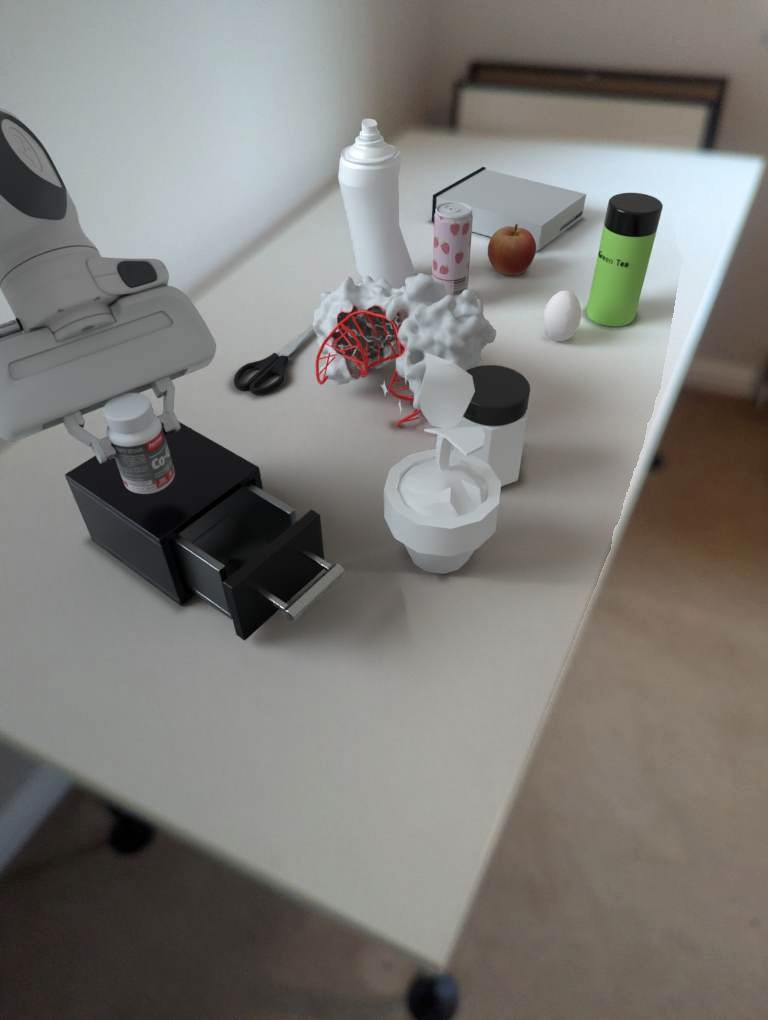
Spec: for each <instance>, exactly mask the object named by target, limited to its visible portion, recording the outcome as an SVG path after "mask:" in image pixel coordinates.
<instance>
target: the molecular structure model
mask: <svg viewBox="0 0 768 1020" xmlns="http://www.w3.org/2000/svg"><path fill="white" fill-rule="evenodd" d="M405 285H406V286H403V287H401V288H400V289H396V288H393V287H391V286H390V284H389V283H388V282H387V281H386V280H385V279H380V280H378V281H377V282H374V281H373V279H372V278H371V277H370V276H365V277H364V278H363V281H362V280H361V281H360V282H359V283H358V284H357V285H356V284H355V282H354V279H353V278H352V277H350V276H347V277H345V278H344V279H343V281H342V282H341V283H340V284H339V287H338V288H336V289H334V290H332V291H325V290H323V291H322V292H321V293H320V305H319V307H316V308H315V310H314V312H313V316H312V317H313V322H312V325H313V329H314V331H313V332H314V333H315V334H316V337H317V340H316V344H317V347H318V349H319V350H318V352H317V354H316V358H315V378H316V381H317V383H318V384H319V385H324V384H325V383H326V382H327V381H328V380H332V381H333V382H334V383H335V385H337V386H342V385H344V384H348V383H349V382H350V381H355V380H360V378H366V377H367V376H368V371H369V370H370V369H371V368H373V369H381V368H383V367H385V366H387V365H388V364H389V360H391V361H392V362H393V363H395V369H394V373H393V376H392V378H391V381H390V382H389V385H388V388H387V391H388V392H387V393H388V394H391V395H392V396H393V398H397V399H398V400H400V401H408V402H412V407H413V408H414V409H415V410H414V411H413V412H412V413H411V414H409V415H407V416H405V417H403V418H401V419H400V420H398V421H396V423H395V426H396V427H398V426H400V425H401V424H403V423H407V422H410V421H414V420H419V419H421V417H420V416H417V415H419V414H420V413H422V411H421V407H420V404H419V400H418V396H419V392H420V389H421V385H422V382H423V378H424V374H425V371H426V353H429V354H431V355H434V356H437V357H439V358H442V359H445V360H447V361H450V362H453V363H455V364H456V365H457V366H459V367H460V368H462V369H463V370H465V371H466V370H468V369H471V368H473V367H477V366H483V360H482V351H483V350H484V348H485V347H486V346H487V345H488V344H492V343H494V342H495V339H496V336H497V330H496V329H495V328H494V326H493V325H492V324H491V323H490V321H489V320H488V319H486V318H485V315H484V305H483V304H484V303H483V301H482V300H481V299H479V298H477V296H476V294H475V293H474V292H473V291H472V290H470V289H468V290H467V289H466V290H464V291H463V292H462V294H459V295H458V296H457V295H455V296H452V295H447V293H446V291H445V285H444V284H443V283H442V282H438V281H435V280H433V278H432V275H430V274H426V273H424V272H420V273H418V274H416V276H413V277H408V278H406V280H405ZM405 348H406V360H407V366H408V370H409V373H410V374H409V373H408V375H407V379H406V381H407V382H408V384H409V386H408V387H402V388H394V389H393V385H394V383H397V382H401V381H405V373H404V368H403V364H402V362H401V360H402V361H403V360H404V357H405ZM322 354H323V355H324V356H322ZM321 356H322V357H321ZM323 359H325V363H324V365H322V366H319V365H320V360H323ZM320 375H322V380H321V378H320ZM397 376H399V377H401V378H399V379H398V378H397ZM405 390H410V391H411V392H412V393H413V395H406V394H405V395H404V394H397V393H395V392H396V391H405ZM416 416H417V417H416Z"/></svg>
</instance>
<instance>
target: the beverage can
mask: <svg viewBox="0 0 768 1020" xmlns="http://www.w3.org/2000/svg"><path fill="white" fill-rule="evenodd" d="M435 211H436V212H435V214H434V222H433V238H432V239H433V241H432V262H431V263H432V265H431V277H432V278H433V280H435V281H438V282H442V283H443V284H444V285H445V291H446V293H447V295H452V296H455V295H457V296H458V295H459V294H462V292H463V291H464V290H466V289H467V290H469V277H470V276H469V275H470V263H471V262H470V261H471V248H472V233H473V232H472V221H473V214H472V208H471V207H470V206H469V205H467V204H465V203H462V202H445V203H442V204H440V205H438V206H437V208H436V210H435Z"/></svg>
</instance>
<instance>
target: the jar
mask: <svg viewBox="0 0 768 1020" xmlns="http://www.w3.org/2000/svg"><path fill="white" fill-rule="evenodd" d="M466 372H467V373H469V374H470V375H471V376H472V378H473V383H474V389H475V393H474V395H473V397H472V399H471V401H470V403H469V405H468V407H467V409H466V411H465V413H464V415H463V416H462V418H461V420H460V422H459V423H458V425H455V426H452V427H482V428H483V430H484V432H485V440H484V444H483V448H482V449H480V450H478V451H476V452H474V453H472V454H470V455H472V456H474V457H476V458H478V459H480V460H482V461H484V462H486V463H488V464H489V466H490V467H491V468H492V470H493V471H494V473H495V474H496V476H497V477H498V479H499V480H500V482H501V487H504V486H506V485H509V484H512V483H515V482H517V481H518V480H519V477H520V476H519V475H520V469H521V463H522V456H523V449H524V444H525V437H526V431H527V425H528V408H529V402H530V397H531V385H530V382H529V380H528V379H527V378H526V377H525V376H524V375H523V374H522V373H520V372H519V371H517V370H515V369H513V368H510V367H507V366H503V365H498V364H497V365H495V364H485V365H484V364H482V366H477V367H473V368H471V369H468V370H466ZM451 450H455V451H460V450H459V449H457V448H456V447H455V446H454V445H453V444H452V447H451Z"/></svg>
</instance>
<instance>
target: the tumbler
mask: <svg viewBox="0 0 768 1020" xmlns="http://www.w3.org/2000/svg"><path fill="white" fill-rule="evenodd" d="M663 207H664V205H663V202H662V201H661V200H660V199H658V198H657V197H655V196H653V195H649V194H646V193H640V192H622V193H617V194H615V195H612V196H611V197H610V198H609V199H608V202H607V207H606V213H605V217H604V221H603V227H602V233H601V237H600V243H599V247H598V252H597V257H596V261H595V262H596V263H595V267H594V272H593V278H592V282H591V287H590V291H589V298H588V301H587V306H586V316H587V317H588V319H590V320H591V321H593V322H594V323H596V324H598V325H602V326H604V327H605V326H606V327H613V328H614V327H616V328H617V327H624V326H627V325H629V324H631V323H632V322H633V321H634V320H635V318H636V314H637V310H638V307H639V302H640V298H641V295H642V290H643V287H644V282H645V278H646V274H647V270H648V267H649V263H650V260H651V254H652V250H653V247H654V244H655V240H656V235H657V231H658V228H659V223H660V220H661V217H662V212H663Z"/></svg>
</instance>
